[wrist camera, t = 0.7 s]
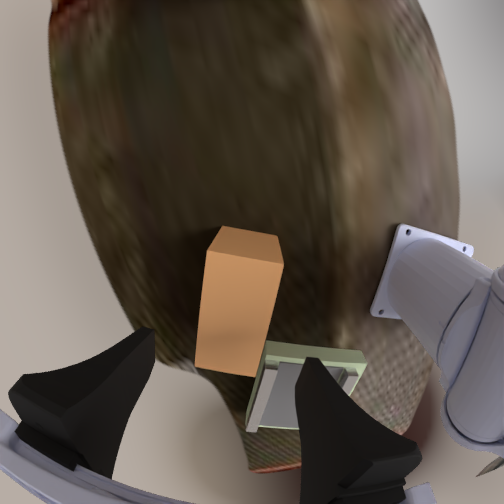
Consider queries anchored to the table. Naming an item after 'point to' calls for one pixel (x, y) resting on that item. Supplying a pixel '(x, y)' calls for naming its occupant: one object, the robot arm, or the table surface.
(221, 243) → the tan tapered column
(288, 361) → the green rimmed tray
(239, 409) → the table surface
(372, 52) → the table surface
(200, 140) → the table surface
